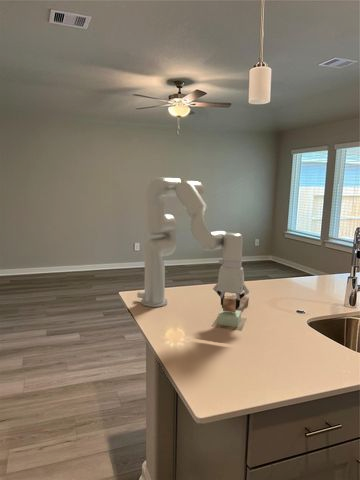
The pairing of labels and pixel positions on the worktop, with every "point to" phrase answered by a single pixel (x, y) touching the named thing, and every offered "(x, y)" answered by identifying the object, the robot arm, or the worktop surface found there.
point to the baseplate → (230, 326)
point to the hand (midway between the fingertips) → (230, 307)
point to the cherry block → (229, 303)
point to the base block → (229, 318)
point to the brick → (243, 303)
